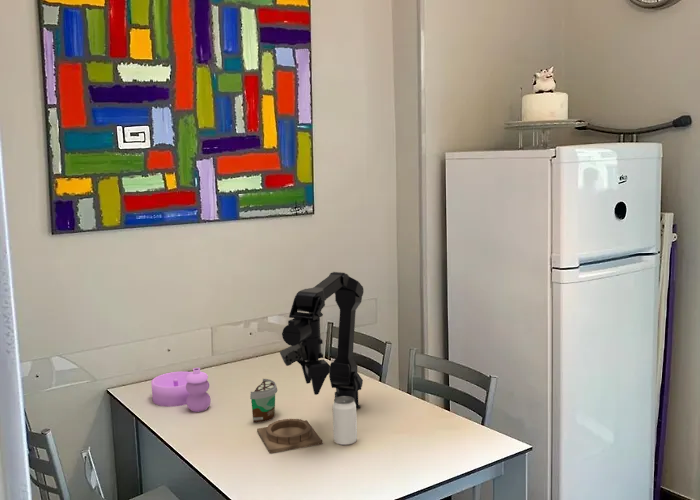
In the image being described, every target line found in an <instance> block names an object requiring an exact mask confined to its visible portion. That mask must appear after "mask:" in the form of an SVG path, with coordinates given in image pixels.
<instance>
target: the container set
mask: <svg viewBox="0 0 700 500" xmlns="http://www.w3.org/2000/svg"><path fill="white" fill-rule="evenodd" d="M208 378H209V375H208V373H206V372H204V371H201V367H194V368H192V371H186V370H185V371H184V370H183V371H172V372H166V373H164V374H163V373H162V374H160V375H157V376H155V377H154V378H153V379H151V382H150V384H151V385H150V386H151V396H152V403H153V404H155V405H156V406H160V407H169V408H170V407H171V408H172V407H179V406H186V405H187V408H188V409H189V410H190V411H191V412H196V413H199V412H204V411H206V410H207V409H208V407H209V406H210V405H211V402H212V401H211V396H210V394H209V393H208V392H207V391H208V390H209V389H210V382H209V381H208Z"/></svg>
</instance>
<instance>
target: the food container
mask: <svg viewBox="0 0 700 500" xmlns="http://www.w3.org/2000/svg"><path fill="white" fill-rule="evenodd" d="M277 392H278V387H277V384H276V382H275V381H274V380H272V379H269V378H262V382H261V383H260V384H259V385H258V386H257V387H255V389H254V391H250V393H249V394H250V396H249V397H250V400H251V403H250V404H251V413H252V421H253V423H256V424H257V423H264V422H268V421H271V420H273V418H275V416H276V415H275V414H276V413H275V412H276V393H277Z"/></svg>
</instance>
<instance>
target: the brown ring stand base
mask: <svg viewBox="0 0 700 500" xmlns="http://www.w3.org/2000/svg"><path fill="white" fill-rule="evenodd" d="M256 432H257V434H258V436H259V437H260V439H261V441H262V443H263V445H264V446H265V448H266V450H267V452H268V453H269V454H275V453H281V452H285V451H291V450H296V449H302V448H307V447H312V446H313V447H314V446H319V445H323V442H324V441H323V439H322V438H321V437H320V435H319V434H318V433H317V431H316V430H315V429H314V428H313V426H312V425H311V423H309V421H308V420H307V419H306V420H303V419H302V418H301V419H299V418H284V419H278V420H275V421H273V422H271V423H269V424H268V425H267V426H264V427H259V428H257V429H256Z"/></svg>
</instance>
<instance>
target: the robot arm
mask: <svg viewBox="0 0 700 500" xmlns="http://www.w3.org/2000/svg"><path fill="white" fill-rule="evenodd" d="M332 295H334V297H335V298H334V299H335V300H334V301H335V302H336V305H337V307H338V309H339V318H338V319H339V321H338V336H337V351H336V353H337V354H336V355H337V356H336V357H335V359H334V361H332V362H331V363H330V364H329V363H328V361H326V359H324V354H323V352H322V344H323V338H322V337H321V336H322V335H321V317H323V315H324V313H322V310H323V309H324V307H325V306H326V303H325V301H326V300H327V299H328V298H330V297H331V296H332ZM363 296H364V286H363V285H362V284H361V282H359V281H358V280H356V279H355V278H353V277H350V276H349V274H348V273H346V272H341V271H340V272H339V271H332V272H330V273H329V275H328V276H327V277H326V278H324V279H323V280H322V281H319V283H318V284H316V285H315V286H313V287H309V288H304V289H301V290H299V291H298V292H297V293H296V294H295V296H294V297H293V298H294V299H293V301H292V305H291V309H290V312H289V315H288V317H289V318H291V319H288V320H287V325H286V326H285V327H283V329H282V332H281V335H282V336H281V337H282V339H283V341H284V343H286V345H288V346H287V347H286V348H284V349H282V350H280V351H279V354H280V356H281V359H282V362H283V363H284V364H285V366H287V367H288V366H289V367H290V366H291V365H293V364H294V363H295V362H297V363H298V364H299V365H300V366H301V370H302V373H303V376H304V380H305V383H306V384H311V386H312V390H313V394H314V395H315V396H317V395H319V393H320V391H321V389H322V387H323V385H324V383H325V381H326V378H327V376H329V382H330V387H331V388H332V389H335V392H334V399H335V398H337V397H340V396H349V397H352V398H354V402H355V404H356V409H360V408H361V405H360V404H359V391H361V390H362V387H363V378H362V376H361V375H360V374H359V373H358V364H357V362H356V360H355V359H354V343H355V328H356V327H355V325H356V311H357V309H358V308H359V306H360V304H361V303H362V299H363ZM323 345H324V344H323Z"/></svg>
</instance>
